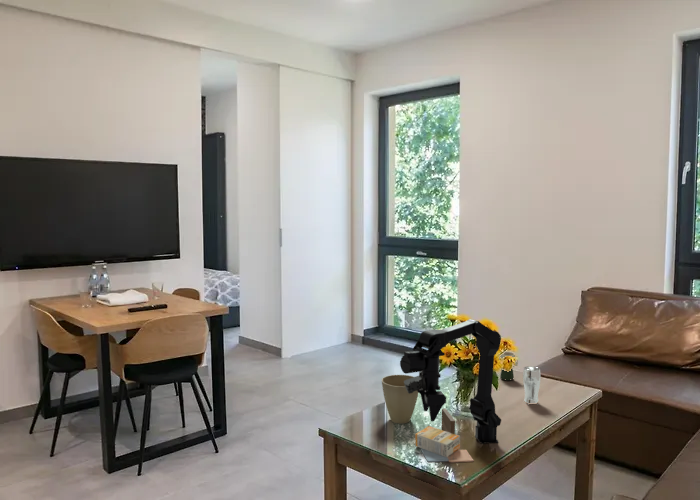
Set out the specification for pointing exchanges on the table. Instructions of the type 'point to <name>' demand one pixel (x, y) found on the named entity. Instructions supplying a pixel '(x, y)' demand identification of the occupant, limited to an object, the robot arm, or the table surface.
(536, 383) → the beer glass
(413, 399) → the plant pot
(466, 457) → the terracotta mat
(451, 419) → the walnut screen
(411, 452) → the table surface
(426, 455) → the slate-blue mat
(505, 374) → the character mug
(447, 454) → the supplement box
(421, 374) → the robot arm
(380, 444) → the table surface
